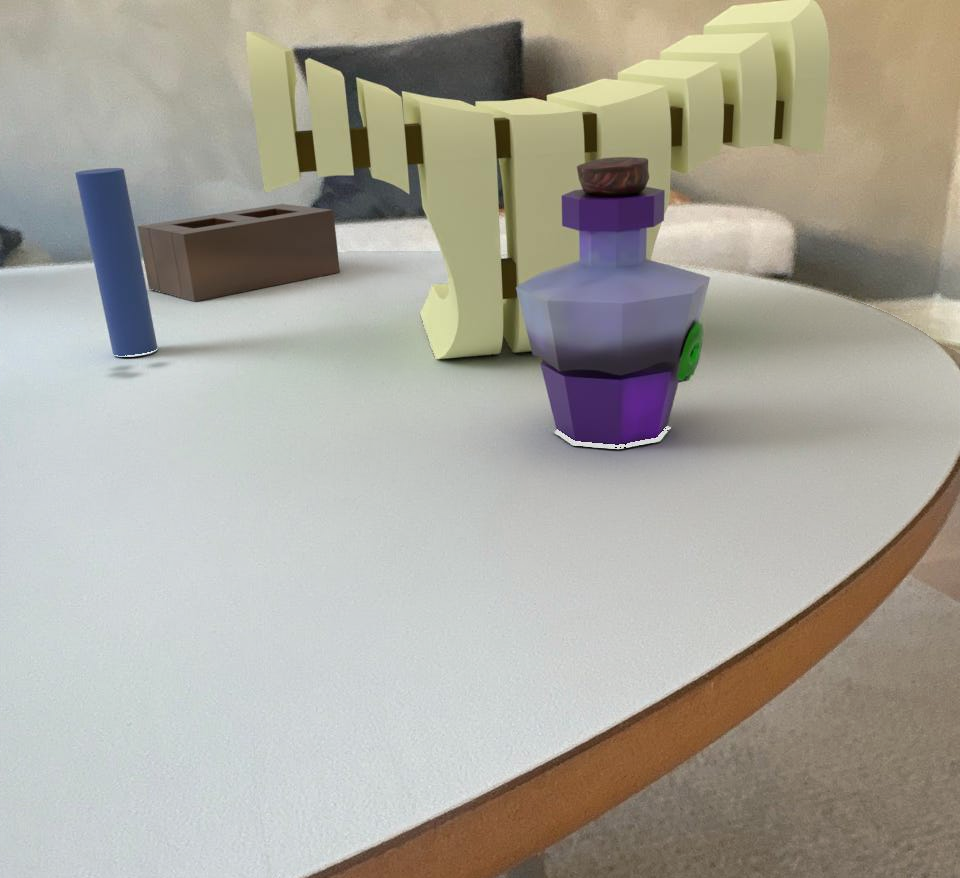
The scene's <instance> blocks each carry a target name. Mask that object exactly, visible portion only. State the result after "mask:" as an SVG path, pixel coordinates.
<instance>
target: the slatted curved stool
mask: <svg viewBox="0 0 960 878" xmlns="http://www.w3.org/2000/svg"><path fill="white" fill-rule="evenodd" d="M702 31H703V32H702V34H689V35H687V36H685V37H683V38H682V39H680V40H678V41H677V42H675V43H673V44H672V45H670V46H668V47H666V48H665V49H663V50H661V51H660V52H659V53H660V54H659V59H648V58H647V59H644V60H641V61H639V62H637V63H636V64H635V63H634V65H631V66H629V67H626V68H625V69H623V70H620V71H619V72H617V79H612V78H605V77H604V78H601V79H597V80H595V81H592V82H589V83H586V84H583V85H580V86H578V87H573V88H570V89H566V90H562V91H558V92H554V93H550V94H547V95H546V100H543V99H538V98H537V97H536V98H535V97H526V98H519V99H510V100H508V99H507V100H479V101H478V100H476V101H475V105H473V104H471V103H468V102H465V101H462V100H458V99H449V98H441V97H433V96H429V95H423V94H418V93H414V92H409V91H404V90H402V91H401V95H399V94H398V93H396V92H395V91H393V90H392V89H390V88H389V87H388V86H385V85H382V84H380V83H379V84H378V83H376V82H372V81H369V80H366V79H364V78H363V79H362V78H360V77H355V80H356V89H357V100H358V111H359V114H360V117H361V121H362V125H363V126H355V127H350V123H349V122H350V121H349V112H348V111H349V110H348V103H347V102H348V101H347V93H346V84H345V82H346V81H345V77H344V75H343V73H342V71H340V70H338V69H336V68H334V67H332V66H329V65H327V64H324V63H322V62H319V61H318V60H314V59H312V58H310V57H308V58H307V59H305V60H304V64H305V76H306V86H307V95H308V105H309V111H310V113H309V114H310V121H311V123H310V124H311V129H309V130H298V126H297V115H296V114H297V113H296V85H297V80H298V79H297V74H296V73H297V72H296V63H295V55H294V50H293V49H292V48H289V47H288V46H285V45H284V44H283V43H282V44H281V43H280V42H278V41H276V40H274V39H273V38H270V37H268V36H267V35H265V34H262V33H261V32H256V31H251V30H246V37H245V38H246V39H245V40H246V41H245V43H246V57H247V67H248V68H247V69H248V79H249V88H250V96H251V104H252V112H253V118H254V119H253V120H254V126H255V133H256V142H257V150H258V156H259V163H260V170H261V171H260V172H261V178H262V185H263V193H264V194H266V193H269V192H272V191H275V190H277V189H279V188H282V187H286V186H289V185H292V184H296V183H299V182H300V181H301V177H302V173H311V172H316V175H317V178H325V177H334V176H355V173H354V169H367V168H368V170H369V172H370V175H371V178H372V179H375V180H379V181H382V182H385V183H388V184H390V185H392V186H395V187H397V188H398V189H400V190H402V191H403V192H405V193H406V194H407V195H409V196H410V194H411V193H410V181H409V168H408V166H412V165H417V170H418V178H419V187H420V195H421V205H422V207H421V208H422V210H423V212H424V214H425V216H426V218H427V220H428V222H429V224H430V226H431V229H432V232H433V234H434V236H435V239H436V241H437V245H438V247H439V250H440V253H441V255H442V259H443V262H444V265H445V270H446V274H447V280H448V282H447V283H437V284H436V283H435V284H434V283H433V284H431V286H430V288H429V292H428V295H427V297H426V300H425V302H424V304H423V306H422V308H421V310H420V311H419V313H420V314H421V317H422V320H423V323H422V325H424V326H423V328H424V331H425V330H426V331H425V334H426V333H427V334H426V336H427V335H428V337H427V340H428V339H429V340H428V343H429V342H430V343H429V346H430V348H431V351H432V350H433V352H432V354H433V353H434V355H433V357H434V356H435V357H434V359H435V360H444V359H446V360H447V359H457V358H468V357H479V356H480V357H481V356H492V354H493V355H500V354H501V352H502V347H503V339H504V338H505V339H506V340H505V339H504V340H505V342H506V341H507V342H506V343H508V344H507V345H508V347H509V346H510V347H509V348H511V349H512V350H511V349H510V350H511V352H512V353H526V352H532V350H531V346H530V342H529V338H528V334H527V330H526V326H525V322H524V318H523V314H522V310H521V306H520V302H519V298H518V294H517V290H516V287H517V286H519V285H520V284H522V283H524V282H526V281H527V280H529V279H531V278H533V277H534V276H536V275H538V274H540V273H541V272H545V271H548V270H551V269H554V268H558V267H561V266H564V265H567V264H570V263H574V262H577V261H580V253H579V231H578V230H575V229H571V228H568V227H564V226H562V195H564V194H567V193H569V192H572V191H574V190H582V186H581V184H580V181H579V177H578V171H577V166H579V165H581V164H584V163H587V162H590V161H593V160H597V159H603V158H613V157H635V158H646V159H648V172H649V180H648V182H647V185H646V187H650V188H656V189H661V190H665V198H664V216H665V215H666V212H667V209H668V207H669V205H670V202H671V170H672V171H675V172H677V173H681V174H683V175H686V176H688V175H689V174H691V172H693V171H694V170H695V169H696V168H697V167H699V166H700V165H702V164H703V163H705V162H707V161H708V160H710V159H712V158H714V157H717V156H720V155H722V154H723V145H724V146H727V147H732V148H735V149H744V148H752V147H771V146H772V147H773V146H774V144H775V145H781V146H784V147H788V148H795V149H799V150H805V151H809V152H814V153H818V154H824V144H825V143H824V142H825V130H826V120H827V119H826V118H827V108H828V95H829V83H830V69H831V68H830V67H831V48H830V36H829V32H828V25H827V22H826V18H825V15H824V12H823V10H822V8H821V7H820V5H819V4H818V2H817V1H816V0H776V1H774V0H773V1H767V2H756V3H744V4H736V5H731V6H730V7H729V8H727V9H726V10H724V11H723V12H722V13H721V12H720V13H719V15H717V16H716V17H714V18H713V19H711V20H710V21H709V22H707V23H705V24H704V25H703V30H702ZM498 162H499V163H498ZM498 164H499V170H500V176H501V177H500V178H501V186H502V195H503V196H502V197H503V205H504V206H503V207H504V208H503V209H504V221H505V222H504V223H505V237H506V257H505V258H504V257H503V258H502V251H501V230H500V229H501V228H500V208H499V203H500V202H499V183H498V182H499V181H498V180H499V179H498ZM662 223H663V222H661V223H659V224H658V225H656V226H654V227H650V228H647V237H646V259H648V260H652V256H653V253H654V250H655V245H656V241H657V238H658V235H659V231H660V228H661V226H662ZM420 314H419V315H420ZM421 317H420V318H421ZM422 320H421V321H422ZM503 336H504V337H503Z"/></svg>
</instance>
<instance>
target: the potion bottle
mask: <svg viewBox="0 0 960 878" xmlns="http://www.w3.org/2000/svg"><path fill="white" fill-rule="evenodd" d="M577 171H578V177H579V181H580V184H581V186H582V190H574V191H572V192H569V193H567V194H564V195H562V226H564V227H568V228H571V229H575V230H578V231H579V253H580V261H577V262H574V263H570V264H567V265H564V266H561V267H558V268H554V269H551V270H548V271H545V272H541V273H540V274H538V275H536V276H534V277H533V278H531V279H529V280H527V281H526V282H524V283H522V284H520V285H519V286H517V287H516V290H517V294H518V298H519V302H520V306H521V310H522V314H523V318H524V322H525V326H526V330H527V334H528V338H529V342H530V346H531V350H532V351H531V354H532V357H533V356H536V357H538V358H540V359H541V360H542V361H541V362H540V363H539V364H540V368H541V372H542V373H541V374H542V376H543V381H544V385H545V388H546V392H547V397H548V401H549V404H550V409H551V412H552V416H553V421H554V425H555V430H556V429H558V430H559V431H561V432H562V433H564V434H565V435H567V436H568V437H570V438H571V439H573V440H575V441H581V442H592V443H603V444H615V445H619V444H625V445H626V444H627V443H630V442H635V441H640V440H645V439H651V438H656V437H658V435H659V434H660V433H661V432H662V431H664V430H663V429H664V428H665V427H666V426H667V425H668V424H669V422H670V418H671V413H672V409H673V405H674V402H675V397H676V394H677V390H678V386H679V383H683V382H685V383H686V382H689V381H690V380H691V377H692V376H694V374H695V372H696V369H697V367H698V365H699V361H700V358H701V351H702V347H703V340H704V326H703V323H701V321H700V320H701V317H702V313H703V308H704V305H705V301H706V298H707V297H706V296H707V292H708V288H709V285H710V281H711V277H710V276H707V275H704V274H700V273H698V272H694V271H691V270H687V269H684V268H681V267H677V266H673V265H670V264H668V263H667V264H666V263H663V262H658V261H655V260H652V259H651V260H648V259H646V237H647V228H650V227H654V226H656V225H658V224H659V223H661V222H662V223H663V222H664V221H665V215H664V198H665V190H661V189H656V188H650V187H646V185H647V182H648V180H649V172H648V159H646V158H635V157H613V158H603V159H597V160H593V161H590V162H587V163H584V164H581V165H579V166H577ZM662 223H661V224H662ZM665 429H666V428H665ZM667 431H668V430H667ZM615 448H617V447H615ZM620 448H621V447H620ZM624 448H626V447H624Z"/></svg>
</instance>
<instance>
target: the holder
mask: <svg viewBox="0 0 960 878" xmlns="http://www.w3.org/2000/svg"><path fill="white" fill-rule="evenodd" d="M334 213H335V212H334V210H333V209H330V208H329V209H327V208H320V207H311V206H303V205H295V204H287V203H279V204H273V205H265V206H259V207H253V208H247V209H246V208H245V209H240V210H233V211H226V212H221V213H215V214H214V213H213V214H208V215H201V216H195V217H187V218H180V219H175V220H169V221H162V222H156V223H150V224H149V223H148V224H142V225H137V231H138V237H139V243H140V248H141V253H142V259H143V263H144V270H145V275H146V280H147V283H148V284H147V285H148V289H153V290H157V291H160V292H163V293H162V294H164V293H167V294H166V295H168V294H170V295H169V296H172V295H174V296H173V297H176V296H177V297H176V298H180V297H181V298H180V299H183V298H184V299H183V300H187V301H191V302H196V303H197V302H201V301H205V300H206V301H207V300H211V299H215V298H221V297H225V296H231V295H235V294H240V293H244V292H250V291H256V290H260V289H266V288H269V287H275V286H280V285H285V284H290V283H294V282H299V281H304V280H309V279H313V278H319V277H323V276H328V275H334V274H339V273H340V272H341V268H340V259H339V249H338V242H337V241H338V240H337V232H336V230H337V229H336V222H335V221H336V220H335V214H334ZM160 292H159V293H160Z"/></svg>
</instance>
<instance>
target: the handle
mask: <svg viewBox="0 0 960 878" xmlns="http://www.w3.org/2000/svg"><path fill="white" fill-rule="evenodd" d="M75 178H76V183H77V188H78V193H79V196H80V197H79V198H80V202H81V207H82V212H83V217H84V222H85V226H86V232H87V236H88V241H89V245H90V251H91V255H92V260H93V266H94V270H95V274H96V279H97V284H98V288H99V289H98V290H99V295H100V299H101V304H102V308H103V312H104V317H105V322H106V323H105V324H106V329H107V332H108V336H109V342H110V347H111V351H112V355H113V354H114V355H118V356H125V355H126V356H127V355H135V354H142V353H147V352H151V351H154V350H156V349H157V348H158V349H159V347H158V343H157V342H158V341H157V337H156V332H155V327H154V322H153V321H154V320H153V316H152V312H151V311H152V310H151V306H150V301H149V295H148V290H147V289H148V288H147V284H146V278H145V274H144V269H143V264H142V263H143V262H142V258H141V252H140V247H139V241H138V237H137V231H136V227H135V221H134V215H133V211H132V205H131V200H130V194H129V189H128V185H127V178H126V174H125V169H124V168H123V167H107V168H106V167H105V168H93V169H85V170H80V171H76V172H75ZM114 355H113V356H114Z"/></svg>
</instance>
